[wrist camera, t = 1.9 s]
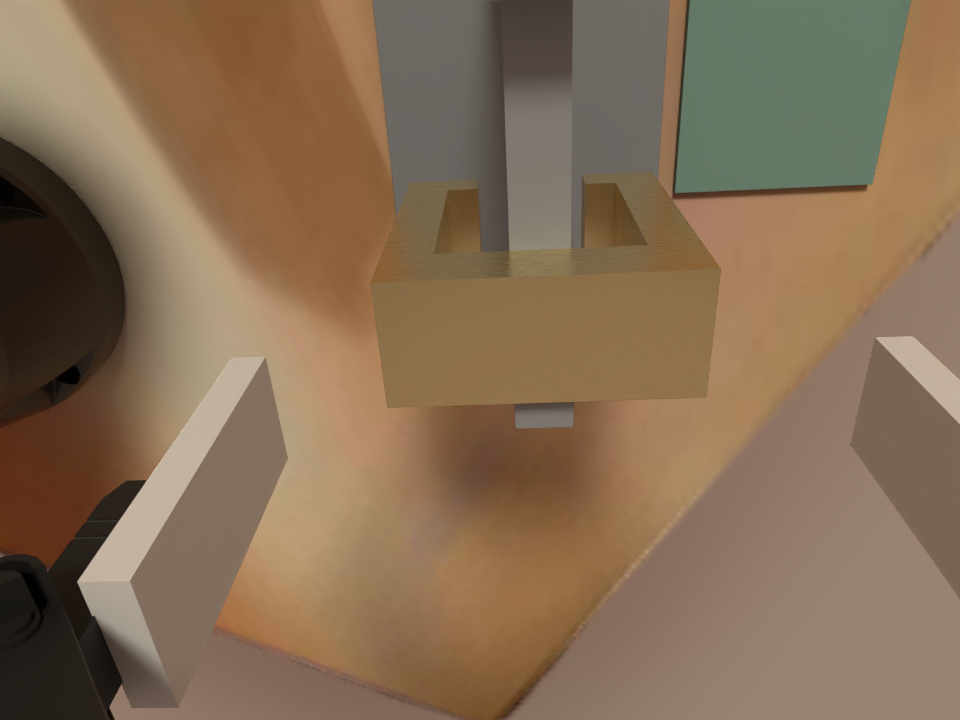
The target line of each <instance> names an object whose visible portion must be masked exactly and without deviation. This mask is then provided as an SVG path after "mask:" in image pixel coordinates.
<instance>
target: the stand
mask: <svg viewBox="0 0 960 720" xmlns="http://www.w3.org/2000/svg"><path fill="white" fill-rule="evenodd" d="M669 2H670V0H373V7H374V16H375V25H376V34H377V43H378V52H379V61H380V71H381V80H382V89H383V98H384V107H385V116H386V125H387V134H388V143H389V152H390V161H391V170H392V179H393V188H394V197H395V206H396V215H397V214H398V212H399V209H400V207H401V204H402V202H403V199H404V196H405V194H406V191H407V189H408V186H409V184H410V182H432V181H454V180H476V179H478V183H479V201H480V220H481V239H482V252H495V251H519V250H543V249H567V248H581V202H582V175H585V174H607V173H629V172H650V171H652V173H653V174H654V175H655V177H656V178H657V180H658V170H659V154H660V139H661V124H662V109H663V94H664V78H665V63H666V48H667V33H668V18H669ZM515 423H516V429H520V428H553V427H573V402H556V403H525V404H515Z"/></svg>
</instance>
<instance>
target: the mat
mask: <svg viewBox="0 0 960 720" xmlns="http://www.w3.org/2000/svg"><path fill="white" fill-rule="evenodd" d="M910 2H911V0H688V4H687V17H686V30H685V43H684V56H683V69H682V82H681V95H680V108H679V121H678V134H677V147H676V160H675V173H674V186H673V191H674V192H675V193H688V192H710V191H733V190H755V189H778V188H800V187H823V186H845V185H868V184H873V179H874V174H875V169H876V164H877V160H878V155H879V150H880V145H881V141H882V136H883V131H884V126H885V121H886V117H887V112H888V107H889V102H890V98H891V93H892V88H893V83H894V78H895V74H896V69H897V64H898V59H899V54H900V50H901V45H902V40H903V35H904V31H905V26H906V21H907V16H908V11H909V7H910Z"/></svg>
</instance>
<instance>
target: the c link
mask: <svg viewBox="0 0 960 720" xmlns="http://www.w3.org/2000/svg"><path fill="white" fill-rule="evenodd" d="M720 274H721V268H720V267H719V265H718V264H717V262H716V261H715V260H714V258H713V257H712V255H711V254H710V253H709V251H708V250H707V248H706V247H705V246H704V244H703V243H702V241H701V240H700V239H699V237H698V236H697V234H696V233H695V232H694V230H693V229H692V227H691V226H690V225H689V223H688V222H687V220H686V219H685V217H684V216H683V215H682V213H681V212H680V210H679V209H678V208H677V206H676V205H675V203H674V202H673V201H672V199H671V198H670V196H669V195H668V194H667V192H666V191H665V189H664V188H663V187H662V185H661V184H660V182H659V181H658V180H657V178H656V177H655V175H654V174H653V173H652V171H650V172H629V173H607V174H585V175H582V202H581V248H567V249H543V250H519V251H495V252H482V239H481V220H480V201H479V183H478V179H476V180H454V181H432V182H410V184H409V186H408V189H407V191H406V194H405V196H404V199H403V202H402V204H401V207H400V209H399V212H398V214H397V217H396V219H395V222H394V224H393V227H392V229H391V232H390V234H389V237H388V239H387V242H386V245H385V247H384V250H383V252H382V255H381V257H380V260H379V262H378V265H377V267H376V270H375V272H374V275H373V277H372V280H371V282H370V284H371V291H372V299H373V306H374V314H375V321H376V328H377V336H378V343H379V351H380V358H381V366H382V373H383V380H384V388H385V395H386V403H387V408H399V407H431V406H462V405H494V404H525V403H556V402H588V401H619V400H651V399H682V398H706V396H707V388H708V379H709V370H710V361H711V353H712V344H713V335H714V327H715V318H716V309H717V300H718V292H719V283H720Z"/></svg>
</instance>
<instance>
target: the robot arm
mask: <svg viewBox="0 0 960 720" xmlns="http://www.w3.org/2000/svg"><path fill="white" fill-rule="evenodd" d="M123 317H124V292H123V284H122V279H121V275H120V271H119V267H118V264H117V261H116V258H115V255H114V253H113V251H112V248H111V246H110V244H109V242H108V240H107V238H106V236H105V234H104V232H103V231H102V229H101V227H100V225H99V224H98V222H97V221H96V219H95V218H94V216H93V215H92V213H91V212H90V211H89V209H88V208H87V207H86V206H85V204H84V203H83V202H82V201H81V199H80V198H79V197H78V196H77V195H76V194H75V192H74V191H73V190H72V189H71V188H70V187H69V186H68V185H67V184H66V183H65V182H64V181H63V180H62V179H60V178H59V177H58V176H57V175H56V174H55V173H54V172H53V171H51V170H50V169H49V168H48V167H46V166H45V165H44V164H43V163H41V162H40V161H38V160H37V159H36V158H34V157H33V156H31V155H30V154H28V153H27V152H25V151H24V150H22V149H21V148H19V147H17V146H15V145H13V144H12V143H10V142H8V141H6V140H4V139H2V138H0V428H1V427H4V426H6V425H9V424H12V423H14V422H17V421H19V420H22V419H24V418H27V417H29V416H32V415H34V414H37V413H39V412H42V411H44V410H47V409H49V408H51V407H53V406H55V405H57V404H59V403H60V402H62V401H64V400H65V399H67V398H68V397H70V396H71V395H72V394H74V393H75V392H76V391H78V390H79V389H80V388H81V387H82V386H83V385H84V384H85V383H86V382H87V381H88V380H89V379H90V378H91V377H92V376H93V375H94V374H95V373H96V372H97V371H98V370H99V369H100V367H101V366H102V365H103V364H104V363H105V362H106V360H107V359H108V358H109V356H110V355H111V353H112V351H113V350H114V347H115V345H116V343H117V341H118V338H119V335H120V332H121V328H122V323H123ZM850 445H851V446H852V448H853V449H854V450H855V452H856V453H857V455H858V456H859V457H860V459H861V460H862V462H863V463H864V464H865V465H866V467H867V469H868V470H869V471H870V473H871V474H872V476H873V477H874V479H875V480H876V481H877V483H878V484H879V485H880V487H881V488H882V490H883V491H884V493H885V494H886V495H887V497H888V498H889V500H890V501H891V502H892V504H893V505H894V506H895V508H896V509H897V511H898V512H899V514H900V515H901V517H902V518H903V519H904V521H905V522H906V524H907V525H908V526H909V528H910V529H911V531H912V532H913V533H914V535H915V536H916V538H917V539H918V541H919V542H920V543H921V545H922V546H923V547H924V549H925V550H926V552H927V553H928V555H929V556H930V557H931V559H932V560H933V561H934V563H935V564H936V566H937V567H938V569H939V570H940V572H941V573H942V574H943V576H944V577H945V579H946V580H947V581H948V583H949V584H950V586H951V587H952V588H953V590H954V591H955V592H956V594H957V595H958V597H959V598H960V380H959V379H958V378H957V377H956V376H955V375H953V374H952V373H951V372H950V371H949V370H948V369H947V368H946V367H945V366H944V365H943V364H942V363H941V362H940V361H939V360H937V359H936V358H935V357H934V356H933V355H932V354H931V353H930V352H929V351H928V350H927V349H926V348H924V347H923V346H922V345H921V344H920V343H919V342H918V341H917V340H916V339H915V338H914V337H912V336H909V337H877V338H875V341H874V345H873V350H872V354H871V358H870V362H869V366H868V371H867V375H866V380H865V384H864V388H863V393H862V397H861V401H860V405H859V409H858V414H857V418H856V422H855V427H854V431H853V435H852V439H851V444H850ZM287 459H288V457H287V452H286V448H285V443H284V439H283V434H282V430H281V425H280V420H279V416H278V411H277V407H276V402H275V398H274V393H273V389H272V384H271V380H270V375H269V370H268V366H267V361H266V357H241V358H231V359H230V361H229V362H228V364H227V365H226V367H225V368H224V369H223V371H222V372H221V374H220V375H219V377H218V378H217V380H216V381H215V382H214V384H213V385H212V387H211V388H210V390H209V391H208V393H207V394H206V396H205V397H204V398H203V400H202V401H201V403H200V404H199V406H198V407H197V409H196V410H195V412H194V413H193V414H192V416H191V417H190V419H189V420H188V422H187V423H186V425H185V426H184V427H183V429H182V430H181V432H180V433H179V435H178V436H177V438H176V439H175V441H174V442H173V443H172V445H171V446H170V448H169V449H168V451H167V452H166V454H165V455H164V457H163V458H162V459H161V461H160V462H159V464H158V465H157V467H156V468H155V470H154V471H153V472H152V474H151V475H150V477H149V478H148V480H139V481H126V482H124V483H123V484H122V485H120V486H119V487H118V488H116V489H115V490H114V491H112V492H111V493H110V494H108V495H107V496H106V497H104V498H103V499H102V500H101V501H100V503H99V504H98V505H97V507H96V508H95V509H94V511H93V512H92V513H91V515H90V516H89V517H88V519H87V523H84V524H83V526H82V527H81V528H80V530H79V531H78V532H77V534H76V535H75V540H71V542H70V543H69V544H68V546H67V547H66V548H65V550H64V551H63V552H62V554H61V555H60V556H59V558H58V559H57V560H56V562H55V563H54V564H53V566H52V567H51V568H50V570H49V571H48V572H47V570H46V568H45V565H44V564H43V563H42V562H41V561H40V560H39V559H38V558H37V557H33V556H29V555H25V554H21V555H10V556H4V557H1V558H0V720H115V719H114V717H113V714H112V712H111V710H110V708H109V706H110V704H111V702H112V701H113V699H114V697H115V695H116V693H117V691H118V689H119V687H120V686H121V684H122V686H123V689H124V691H125V693H126V695H127V698H128V700H129V702H130V705H131V707H132V708H163V707H164V708H166V707H167V708H170V707H171V708H172V707H179V705H180V703H181V701H182V698H183V696H184V694H185V692H186V689H187V687H188V685H189V682H190V680H191V678H192V675H193V673H194V671H195V669H196V667H197V664H198V662H199V659H200V657H201V655H202V653H203V651H204V648H205V646H206V644H207V641H208V639H209V637H210V635H211V632H212V630H213V628H214V625H215V623H216V621H217V619H218V616H219V614H220V612H221V609H222V607H223V605H224V603H225V600H226V598H227V596H228V593H229V591H230V589H231V587H232V584H233V582H234V580H235V577H236V575H237V573H238V571H239V568H240V566H241V564H242V561H243V559H244V557H245V555H246V552H247V550H248V548H249V545H250V543H251V541H252V539H253V536H254V534H255V532H256V529H257V527H258V525H259V523H260V520H261V518H262V516H263V513H264V511H265V509H266V507H267V504H268V502H269V500H270V497H271V495H272V493H273V491H274V488H275V486H276V484H277V481H278V479H279V477H280V475H281V472H282V470H283V468H284V465H285V463H286V461H287Z"/></svg>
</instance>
